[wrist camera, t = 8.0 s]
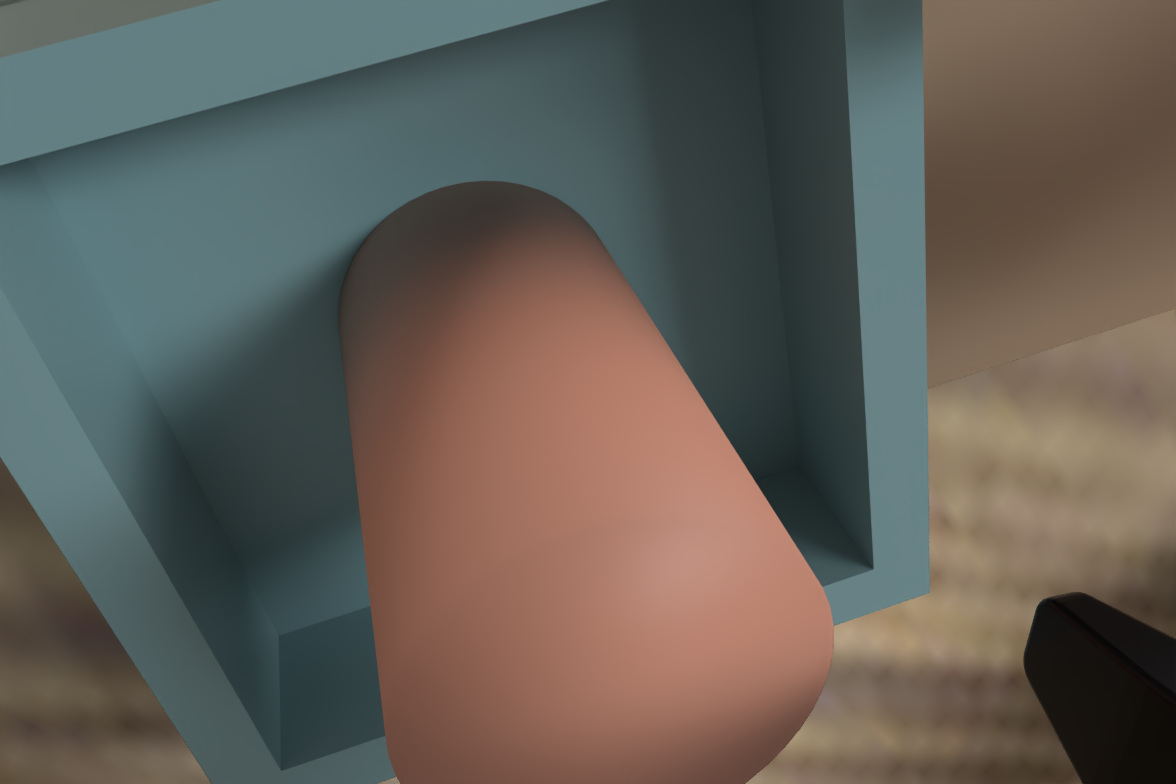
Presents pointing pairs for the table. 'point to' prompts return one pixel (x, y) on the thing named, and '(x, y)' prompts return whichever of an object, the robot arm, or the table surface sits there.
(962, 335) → the crank base
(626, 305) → the pin
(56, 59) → the tray
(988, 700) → the table surface
